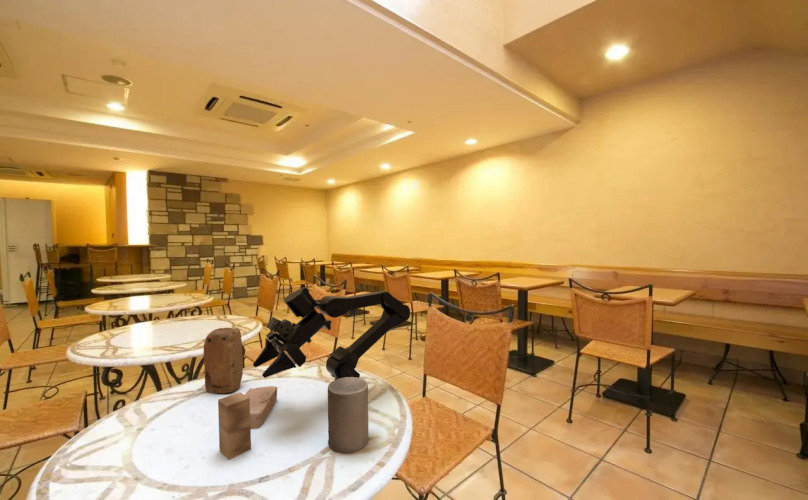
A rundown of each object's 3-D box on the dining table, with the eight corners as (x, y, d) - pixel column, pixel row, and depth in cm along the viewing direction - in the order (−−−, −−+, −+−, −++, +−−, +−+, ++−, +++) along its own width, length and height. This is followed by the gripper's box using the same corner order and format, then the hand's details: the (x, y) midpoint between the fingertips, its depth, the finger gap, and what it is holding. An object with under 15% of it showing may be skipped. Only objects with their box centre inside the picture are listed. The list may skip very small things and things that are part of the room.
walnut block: (241, 441, 81) (240, 392, 81) (251, 449, 78) (249, 397, 78) (219, 450, 78) (218, 399, 77) (228, 459, 74) (227, 406, 74)
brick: (260, 429, 87) (260, 411, 87) (226, 431, 86) (226, 413, 86) (278, 400, 104) (277, 385, 104) (250, 402, 103) (249, 386, 103)
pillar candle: (319, 444, 79) (318, 382, 79) (348, 425, 87) (347, 368, 87) (349, 459, 74) (348, 392, 74) (377, 437, 82) (376, 376, 82)
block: (245, 385, 114) (244, 326, 114) (232, 395, 107) (230, 332, 107) (215, 384, 115) (213, 326, 115) (200, 394, 108) (198, 332, 108)
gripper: (278, 303, 100) (231, 341, 92) (301, 312, 85) (247, 358, 77) (299, 330, 103) (256, 369, 96) (325, 344, 89) (276, 391, 81)
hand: (258, 371), depth 87 cm, fingers open, 9 cm apart
